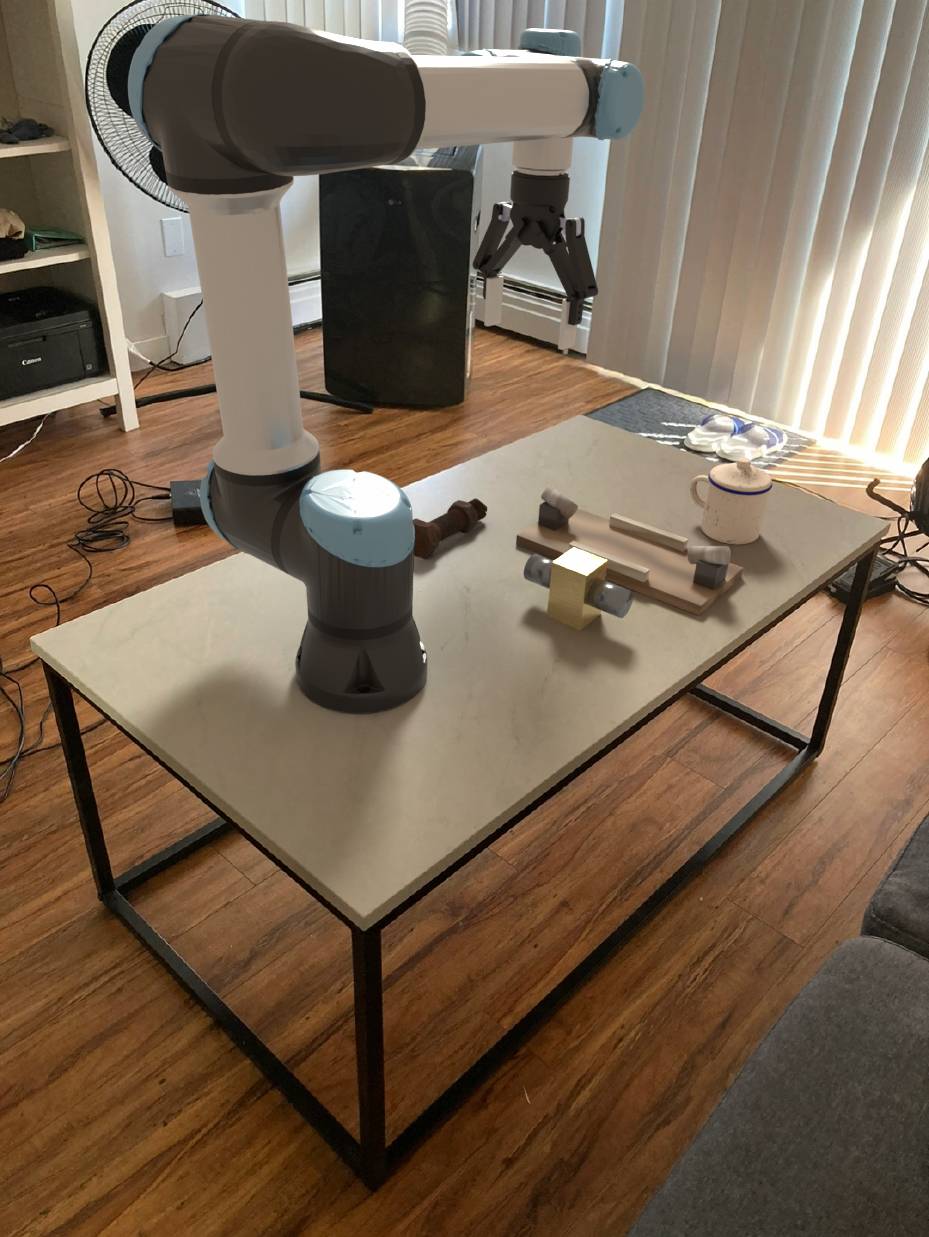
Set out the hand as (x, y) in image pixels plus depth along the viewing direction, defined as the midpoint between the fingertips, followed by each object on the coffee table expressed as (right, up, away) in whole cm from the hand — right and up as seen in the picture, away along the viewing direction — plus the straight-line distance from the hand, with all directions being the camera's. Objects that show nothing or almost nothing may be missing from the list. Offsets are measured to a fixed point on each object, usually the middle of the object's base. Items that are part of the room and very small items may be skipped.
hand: (528, 335), depth 137 cm
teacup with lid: (+30, -26, +11) cm, 41 cm away
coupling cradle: (+14, -31, +2) cm, 34 cm away
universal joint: (+5, -39, -10) cm, 41 cm away
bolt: (-11, -28, +6) cm, 31 cm away
